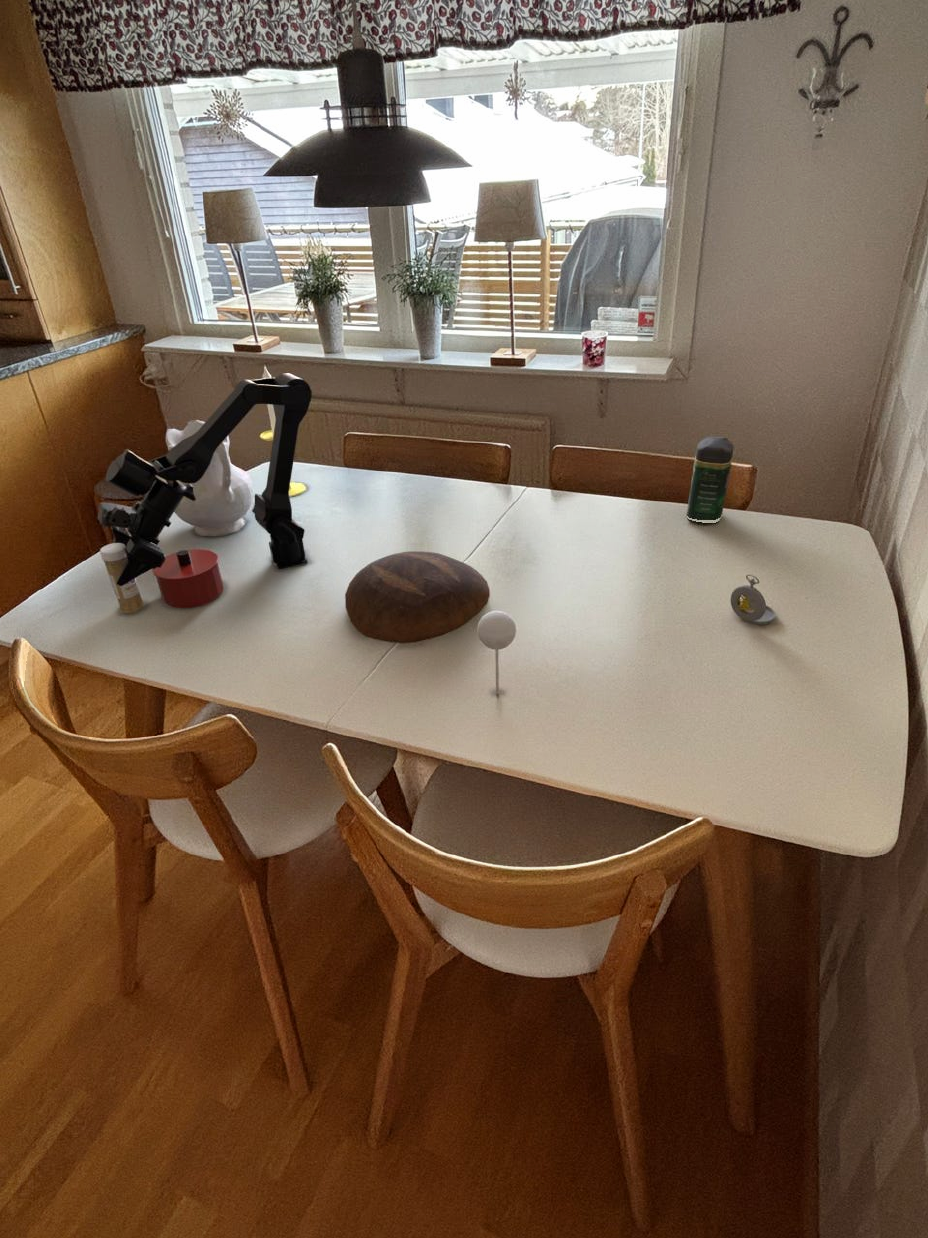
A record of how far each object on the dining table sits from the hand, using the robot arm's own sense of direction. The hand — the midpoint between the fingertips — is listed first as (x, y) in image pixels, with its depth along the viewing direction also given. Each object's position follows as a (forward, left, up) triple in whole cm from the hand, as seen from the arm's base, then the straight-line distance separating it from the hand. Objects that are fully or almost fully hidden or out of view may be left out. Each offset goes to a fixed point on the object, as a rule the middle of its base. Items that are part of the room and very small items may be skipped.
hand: (113, 575), depth 138 cm
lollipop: (-54, +56, -8) cm, 78 cm away
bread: (-52, +25, -8) cm, 58 cm away
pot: (-13, -1, -8) cm, 15 cm away
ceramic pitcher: (-23, -31, -8) cm, 39 cm away
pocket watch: (-105, +57, -8) cm, 120 cm away
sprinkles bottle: (-1, 0, -8) cm, 8 cm away
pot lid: (-13, -1, -1) cm, 13 cm away
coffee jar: (-126, +19, -8) cm, 128 cm away
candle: (-42, -47, -8) cm, 63 cm away
